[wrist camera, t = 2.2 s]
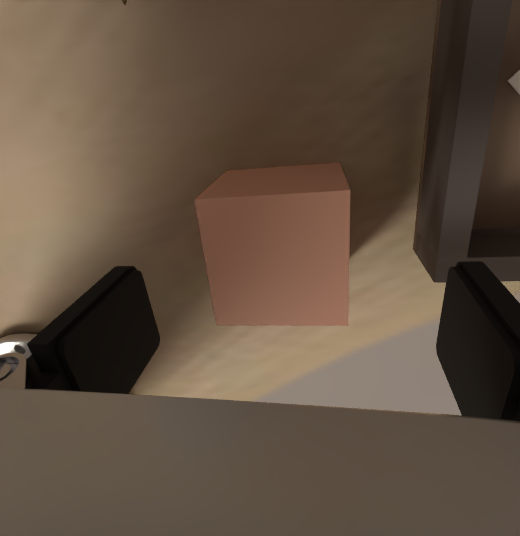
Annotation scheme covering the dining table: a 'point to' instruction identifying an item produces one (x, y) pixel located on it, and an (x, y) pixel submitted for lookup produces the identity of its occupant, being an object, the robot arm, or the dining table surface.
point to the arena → (472, 141)
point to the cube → (277, 245)
